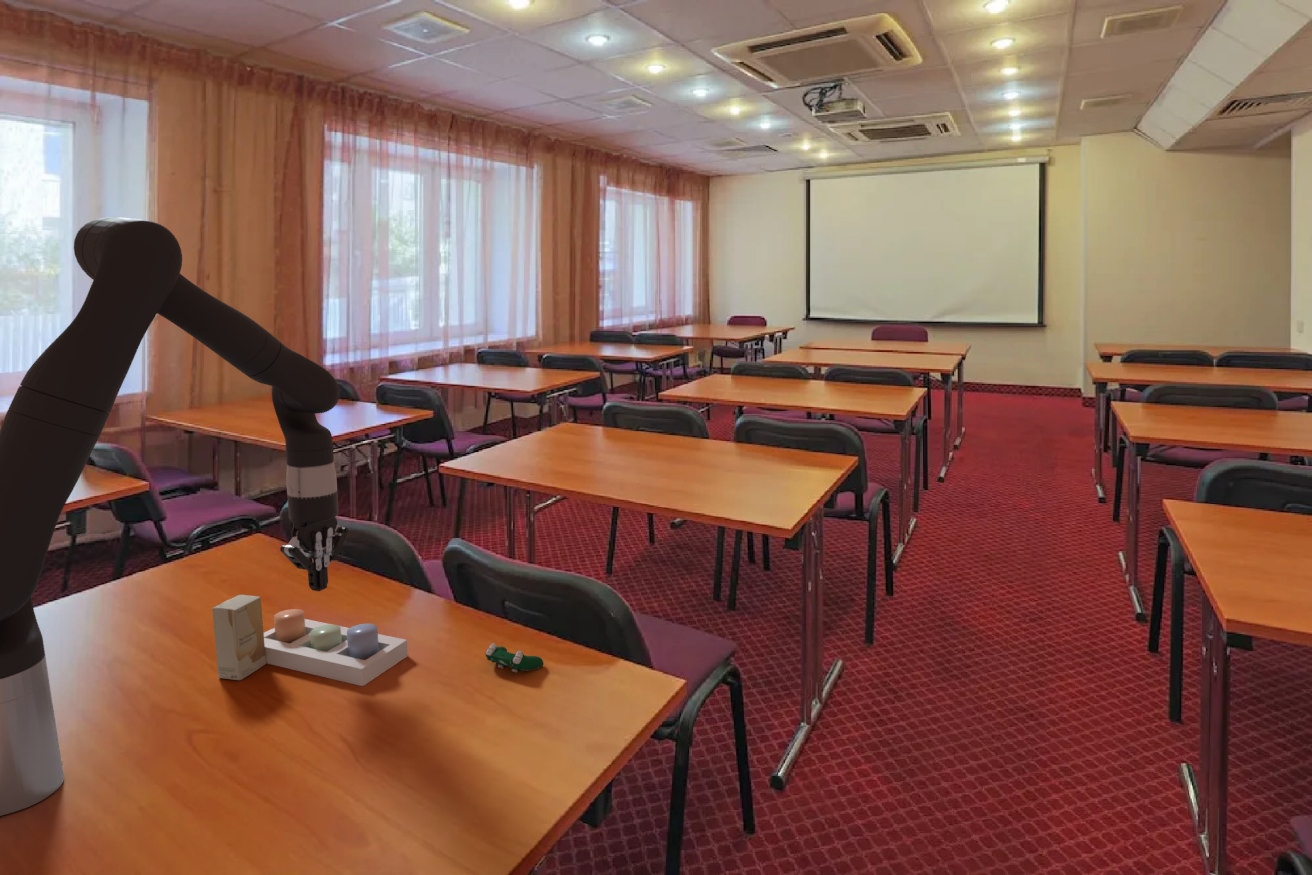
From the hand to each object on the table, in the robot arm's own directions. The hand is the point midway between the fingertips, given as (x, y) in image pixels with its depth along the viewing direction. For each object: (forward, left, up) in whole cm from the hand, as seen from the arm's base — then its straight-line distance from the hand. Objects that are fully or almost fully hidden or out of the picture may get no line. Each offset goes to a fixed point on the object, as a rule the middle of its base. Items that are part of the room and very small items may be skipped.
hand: (319, 589), depth 126 cm
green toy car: (+10, -31, -13) cm, 35 cm away
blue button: (+1, -8, -10) cm, 13 cm away
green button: (+1, 0, -12) cm, 12 cm away
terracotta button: (+1, +8, -10) cm, 13 cm away
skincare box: (-8, +9, -13) cm, 18 cm away
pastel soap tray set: (+1, 0, -13) cm, 13 cm away
